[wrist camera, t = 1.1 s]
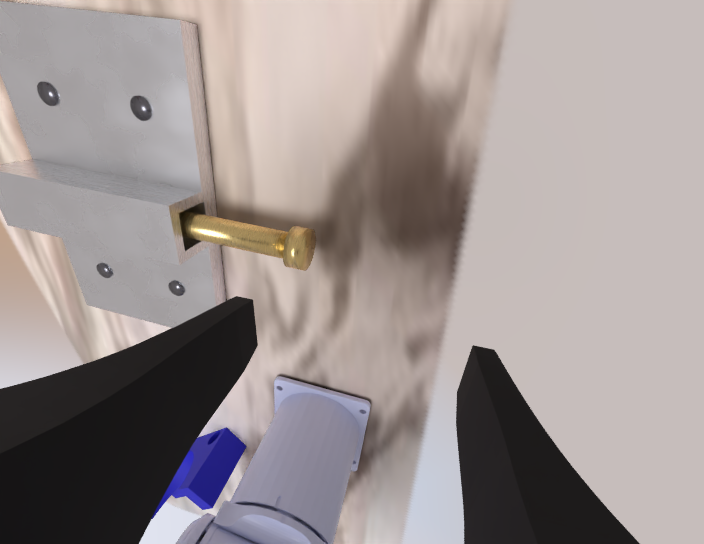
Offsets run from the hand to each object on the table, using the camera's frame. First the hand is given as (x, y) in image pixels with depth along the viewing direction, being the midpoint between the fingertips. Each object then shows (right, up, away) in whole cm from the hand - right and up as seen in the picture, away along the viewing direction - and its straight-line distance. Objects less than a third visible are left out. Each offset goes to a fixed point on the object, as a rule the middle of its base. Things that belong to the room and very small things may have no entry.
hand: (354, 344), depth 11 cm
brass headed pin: (-8, +5, +9) cm, 14 cm away
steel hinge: (-14, +7, +11) cm, 20 cm away
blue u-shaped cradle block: (-16, -17, +26) cm, 35 cm away
